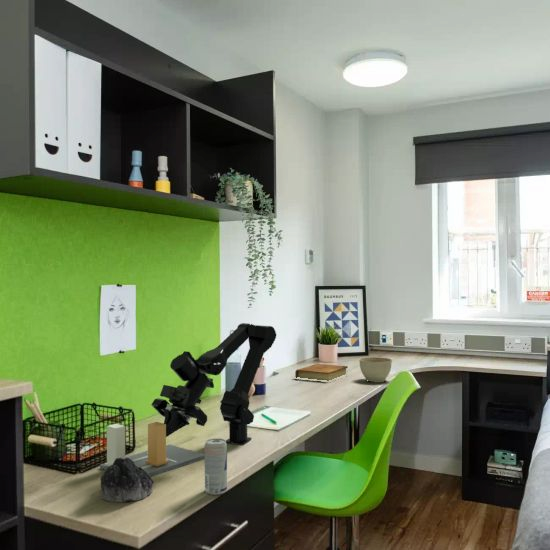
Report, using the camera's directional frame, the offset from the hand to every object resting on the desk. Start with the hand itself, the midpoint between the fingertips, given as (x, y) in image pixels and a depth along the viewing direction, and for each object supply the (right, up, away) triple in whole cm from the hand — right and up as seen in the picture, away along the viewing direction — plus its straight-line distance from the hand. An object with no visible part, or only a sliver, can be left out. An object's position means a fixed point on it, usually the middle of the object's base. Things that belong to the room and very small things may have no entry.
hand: (162, 437), depth 155 cm
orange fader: (-1, -7, -1) cm, 7 cm away
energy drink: (+17, -8, -19) cm, 26 cm away
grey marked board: (-3, -8, +2) cm, 9 cm away
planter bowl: (+81, -8, +126) cm, 150 cm away
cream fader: (-12, -7, -3) cm, 14 cm away
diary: (+55, -9, +136) cm, 147 cm away
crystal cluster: (-5, -8, -20) cm, 22 cm away
